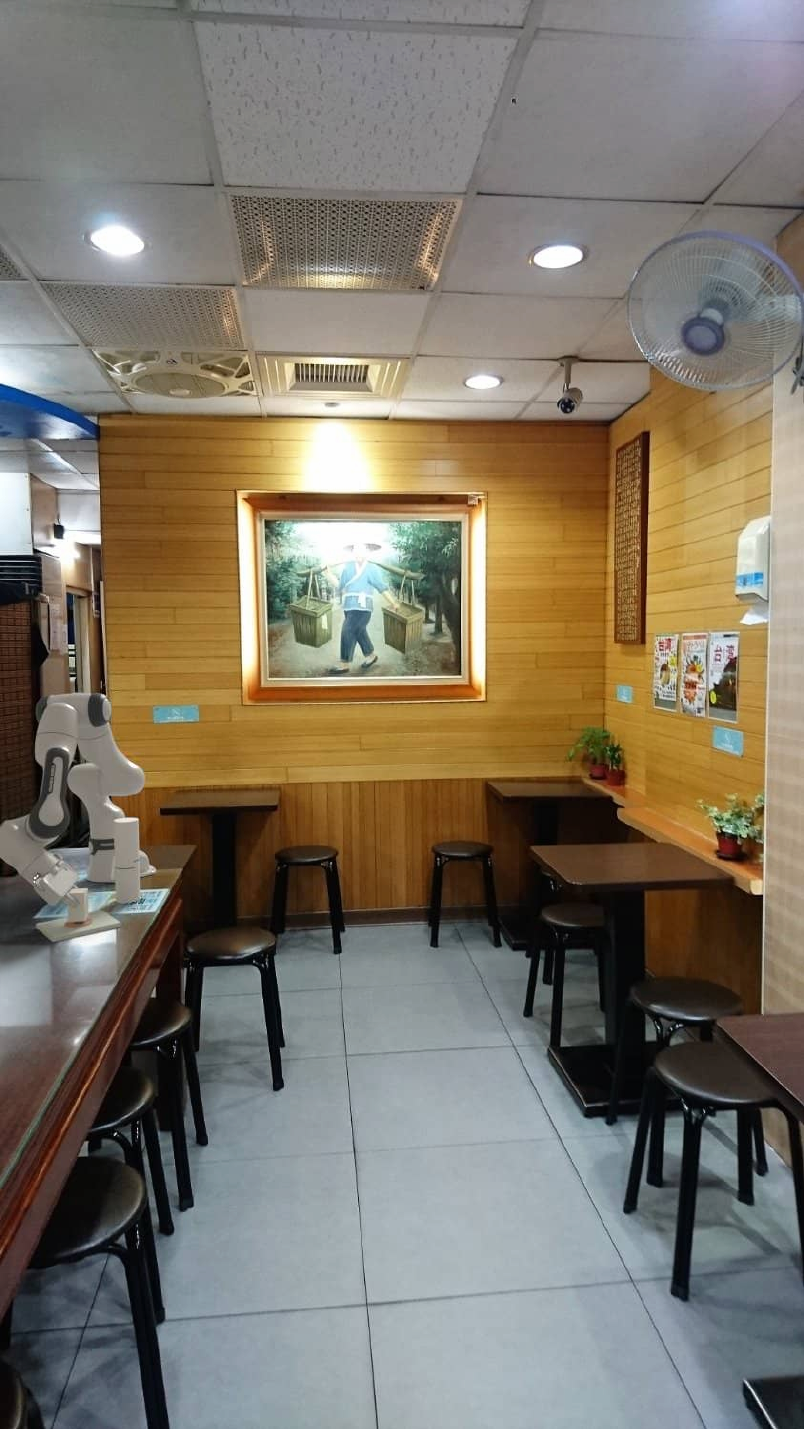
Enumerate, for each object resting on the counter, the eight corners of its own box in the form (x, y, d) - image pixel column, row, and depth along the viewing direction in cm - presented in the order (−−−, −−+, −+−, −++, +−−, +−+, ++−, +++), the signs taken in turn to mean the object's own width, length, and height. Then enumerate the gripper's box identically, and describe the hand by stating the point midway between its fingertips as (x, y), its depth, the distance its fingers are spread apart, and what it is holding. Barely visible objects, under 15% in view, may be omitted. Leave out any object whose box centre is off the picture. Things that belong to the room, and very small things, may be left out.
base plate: (101, 914, 226) (101, 893, 226) (120, 926, 216) (120, 904, 215) (36, 928, 214) (35, 906, 214) (52, 942, 204) (52, 919, 203)
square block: (67, 922, 212) (67, 893, 212) (71, 916, 217) (71, 888, 216) (84, 921, 213) (83, 892, 212) (88, 916, 217) (87, 888, 217)
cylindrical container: (145, 898, 241) (143, 818, 239) (128, 904, 235) (126, 823, 233) (128, 895, 244) (126, 816, 242) (110, 901, 238) (108, 821, 236)
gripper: (38, 871, 202) (79, 906, 205) (60, 852, 222) (96, 883, 225) (21, 889, 202) (62, 923, 204) (44, 868, 222) (81, 899, 224)
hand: (80, 902), depth 215 cm, fingers closed on square block, 4 cm apart
